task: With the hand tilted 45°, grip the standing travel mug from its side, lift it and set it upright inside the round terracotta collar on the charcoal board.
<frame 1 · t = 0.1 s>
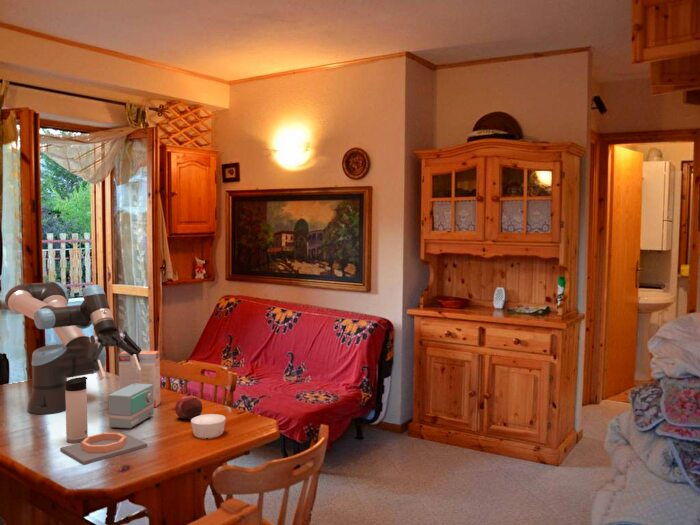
hand: (121, 374, 222), 15 cm above the table, tool tilted 35°, fingers open, 13 cm apart
radio: (133, 423, 217), on the table
fruit: (189, 418, 222), on the table
mug stand: (104, 448, 192), on the table
ramekin: (208, 435, 206), on the table
travel mug: (77, 440, 200), on the table
cracker box: (140, 406, 237), on the table
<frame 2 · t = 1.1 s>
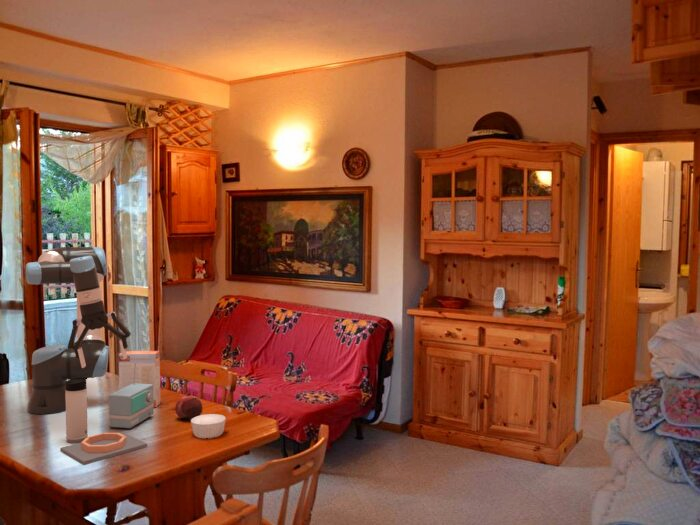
hand: (104, 362, 211), 22 cm above the table, tool pointing down, fingers open, 13 cm apart
nothing on the table moved.
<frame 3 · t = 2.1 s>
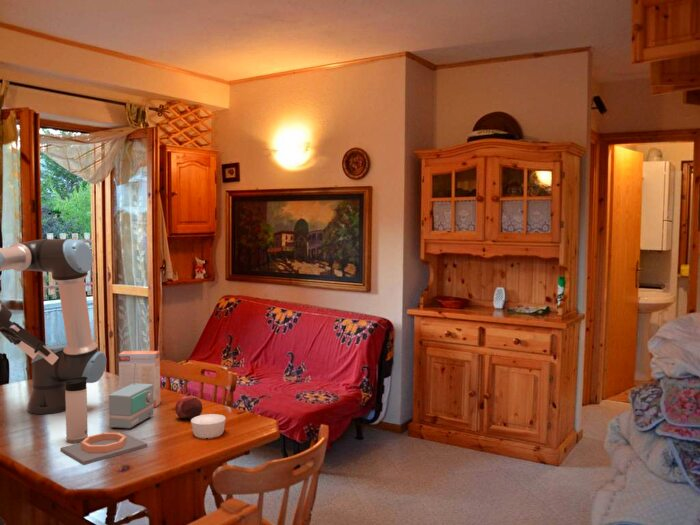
hand: (45, 358, 191), 28 cm above the table, tool tilted 45°, fingers open, 13 cm apart
nothing on the table moved.
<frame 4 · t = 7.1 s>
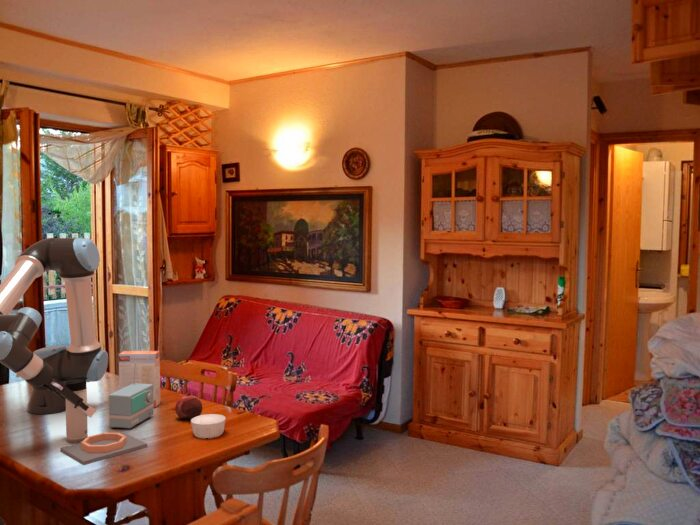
hand: (88, 411, 202), 8 cm above the table, tool tilted 45°, fingers closed on travel mug, 6 cm apart
travel mug: (77, 440, 200), on the table, touching gripper
everything else where it was.
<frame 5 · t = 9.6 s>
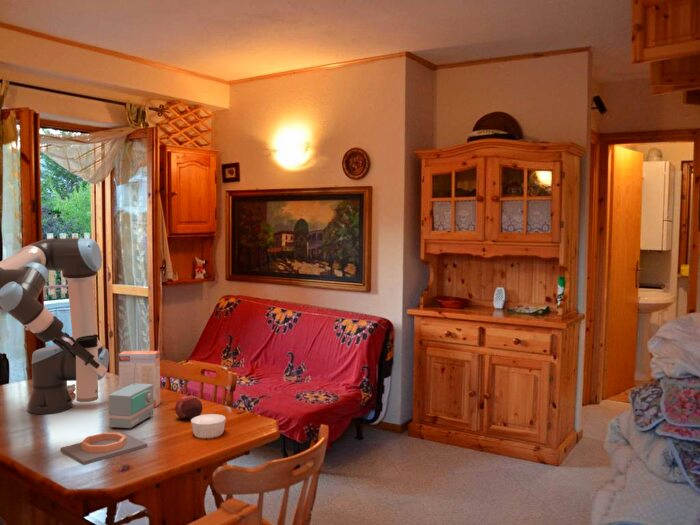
hand: (99, 370, 195), 23 cm above the table, tool tilted 45°, fingers closed on travel mug, 6 cm apart
travel mug: (87, 400, 193), point 15 cm above the table, touching gripper
everything else where it was.
when the fingers open (11 cm above the table, at t = 12.4 s): travel mug drops 2 cm, resting on mug stand.
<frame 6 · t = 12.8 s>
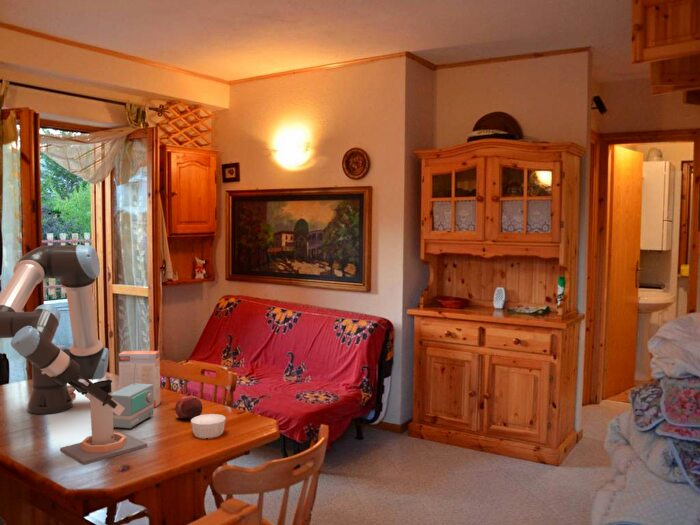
hand: (111, 407, 193), 12 cm above the table, tool tilted 45°, fingers open, 11 cm apart
travel mug: (103, 446, 192), point 1 cm above the table, touching mug stand
everything else where it was.
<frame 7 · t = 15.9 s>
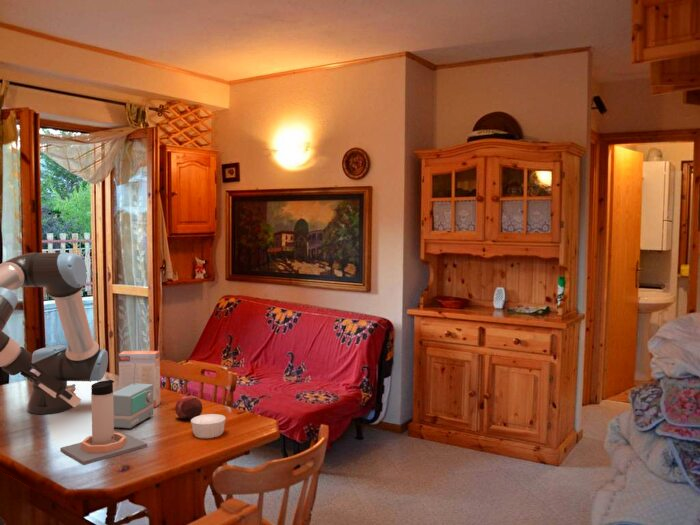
hand: (67, 398, 182), 18 cm above the table, tool tilted 45°, fingers open, 13 cm apart
nothing on the table moved.
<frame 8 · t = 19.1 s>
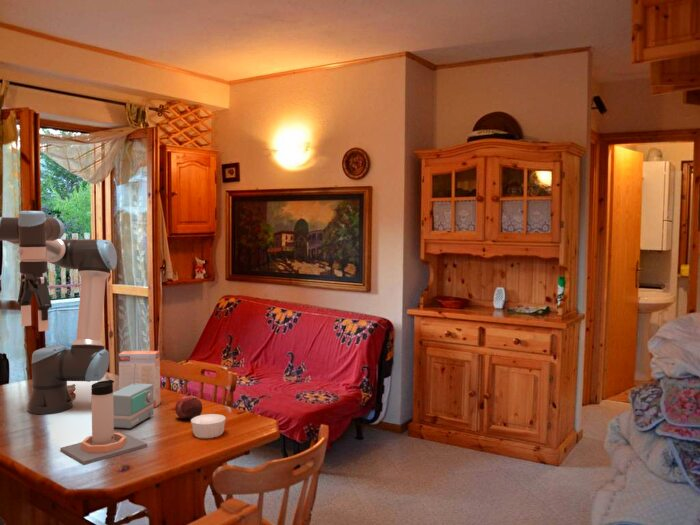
hand: (34, 328, 194), 37 cm above the table, tool pointing down, fingers open, 13 cm apart
nothing on the table moved.
at the end: travel mug 0.1 cm off-centre on the mug stand, point 0.8 cm above the mug stand's base; travel mug tilted 0°; the gripper is holding nothing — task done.
